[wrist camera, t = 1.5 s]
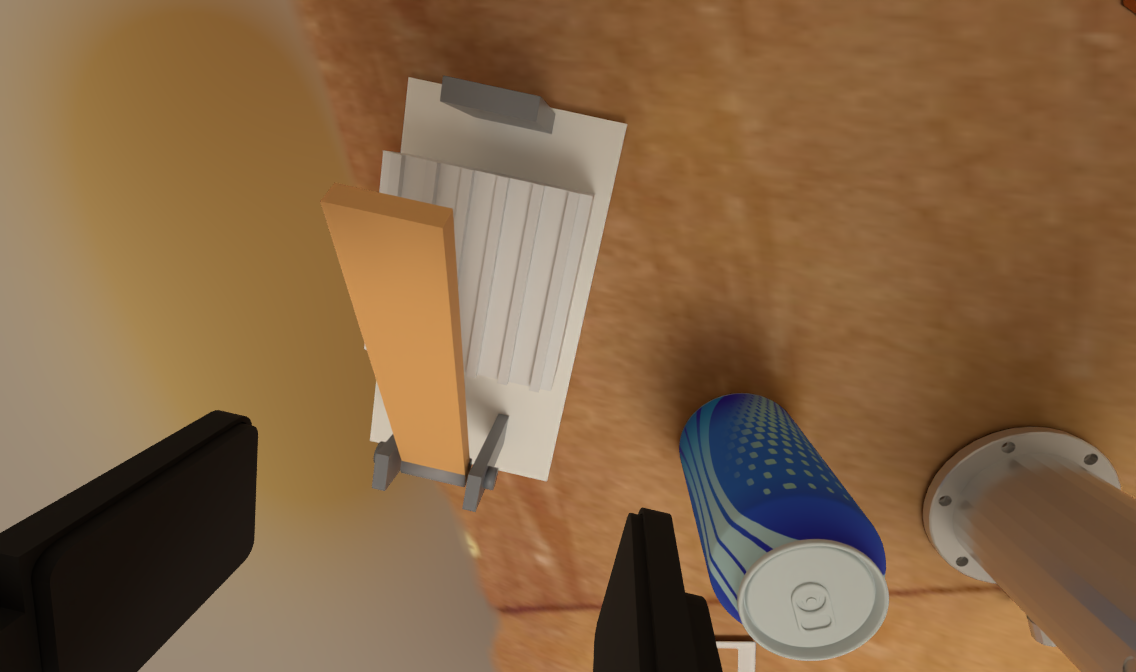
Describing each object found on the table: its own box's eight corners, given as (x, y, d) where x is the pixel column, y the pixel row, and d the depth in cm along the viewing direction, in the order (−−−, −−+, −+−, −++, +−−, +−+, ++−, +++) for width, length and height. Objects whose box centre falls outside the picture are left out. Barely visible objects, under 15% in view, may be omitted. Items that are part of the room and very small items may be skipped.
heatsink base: (548, 474, 41) (530, 557, 32) (375, 434, 41) (308, 505, 32) (626, 125, 33) (631, 104, 24) (414, 80, 34) (341, 42, 25)
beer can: (658, 464, 40) (687, 638, 25) (707, 368, 38) (771, 497, 22) (759, 503, 40) (849, 700, 25) (814, 411, 38) (950, 567, 23)
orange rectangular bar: (472, 465, 34) (464, 491, 33) (412, 451, 34) (402, 477, 33) (456, 201, 17) (438, 236, 16) (340, 175, 17) (314, 208, 16)
